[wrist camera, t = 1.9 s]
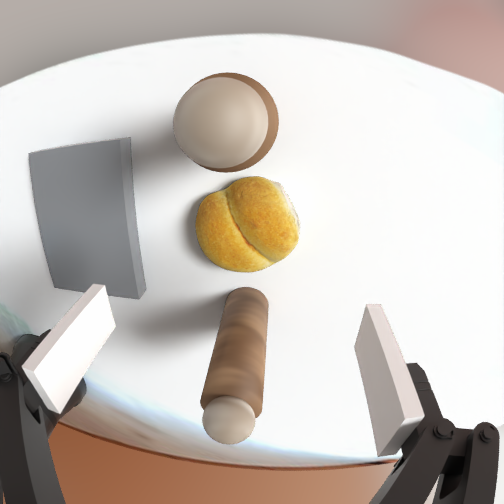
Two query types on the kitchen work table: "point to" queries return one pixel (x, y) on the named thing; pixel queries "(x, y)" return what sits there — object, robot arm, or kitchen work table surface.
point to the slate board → (89, 216)
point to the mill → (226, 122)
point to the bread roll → (247, 225)
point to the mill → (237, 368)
